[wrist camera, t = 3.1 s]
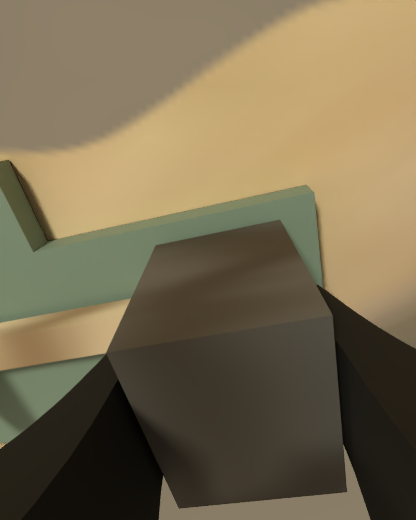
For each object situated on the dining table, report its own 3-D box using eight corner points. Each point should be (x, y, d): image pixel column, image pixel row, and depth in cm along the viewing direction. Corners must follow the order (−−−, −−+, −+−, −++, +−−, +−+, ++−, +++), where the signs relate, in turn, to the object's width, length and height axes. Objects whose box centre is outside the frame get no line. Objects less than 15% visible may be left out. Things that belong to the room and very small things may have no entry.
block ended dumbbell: (279, 218, 10) (332, 314, 5) (297, 343, 12) (346, 491, 7) (-111, 299, 12) (-327, 424, 7) (-37, 396, 14) (-166, 542, 9)
